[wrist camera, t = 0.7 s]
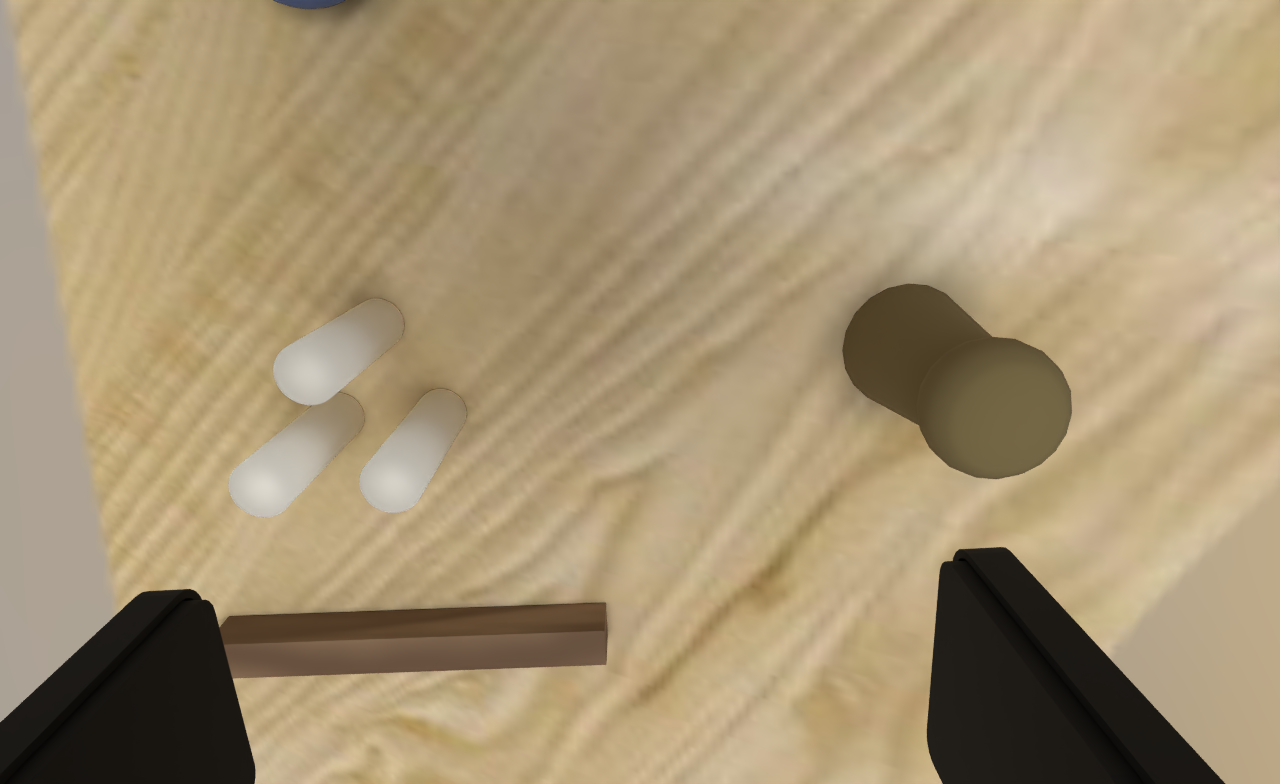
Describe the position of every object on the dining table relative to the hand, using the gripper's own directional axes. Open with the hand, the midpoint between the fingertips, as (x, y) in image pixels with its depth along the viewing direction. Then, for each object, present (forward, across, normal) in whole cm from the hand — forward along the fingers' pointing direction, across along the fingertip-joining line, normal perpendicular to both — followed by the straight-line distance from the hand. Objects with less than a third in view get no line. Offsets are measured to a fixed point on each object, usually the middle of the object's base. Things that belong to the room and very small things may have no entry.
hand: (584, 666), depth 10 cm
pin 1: (+27, +14, +6) cm, 31 cm away
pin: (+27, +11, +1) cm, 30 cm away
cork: (+28, -14, +4) cm, 31 cm away
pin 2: (+27, +9, +6) cm, 29 cm away
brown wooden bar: (+27, +12, +18) cm, 34 cm away
